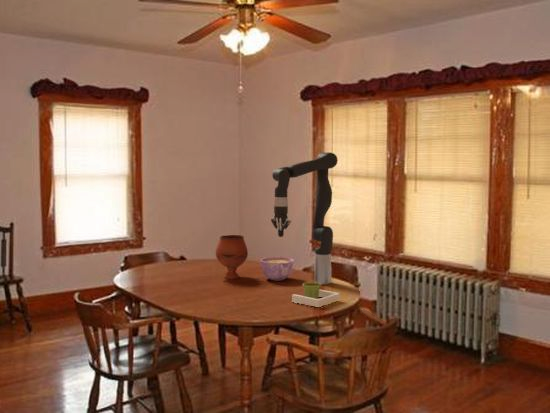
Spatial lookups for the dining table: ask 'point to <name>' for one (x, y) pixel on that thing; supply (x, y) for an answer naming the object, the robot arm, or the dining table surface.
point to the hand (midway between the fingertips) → (280, 236)
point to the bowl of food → (277, 267)
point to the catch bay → (326, 299)
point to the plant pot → (312, 289)
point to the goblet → (231, 253)
